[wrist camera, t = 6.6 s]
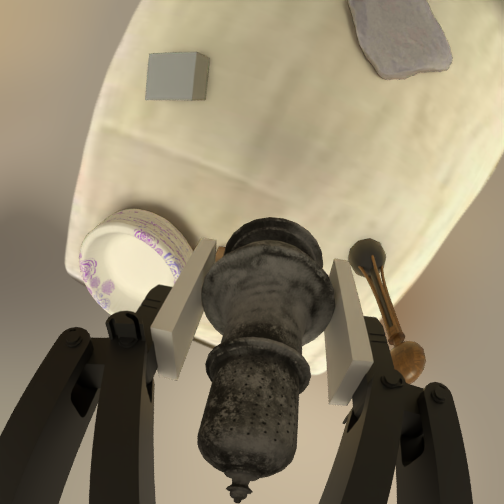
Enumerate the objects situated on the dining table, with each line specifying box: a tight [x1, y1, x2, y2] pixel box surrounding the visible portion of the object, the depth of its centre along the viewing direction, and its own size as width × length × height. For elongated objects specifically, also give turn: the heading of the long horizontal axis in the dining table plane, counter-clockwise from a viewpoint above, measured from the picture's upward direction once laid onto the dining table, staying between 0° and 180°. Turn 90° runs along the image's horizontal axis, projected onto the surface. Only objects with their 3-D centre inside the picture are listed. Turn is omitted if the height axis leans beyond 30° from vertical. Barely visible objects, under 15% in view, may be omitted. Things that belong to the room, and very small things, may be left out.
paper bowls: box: [79, 209, 193, 315], centre depth 37 cm, size 15×15×8 cm
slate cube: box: [145, 52, 210, 101], centre depth 27 cm, size 5×5×5 cm
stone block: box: [348, 0, 452, 80], centre depth 22 cm, size 12×5×10 cm
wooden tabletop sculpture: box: [348, 238, 426, 384], centre depth 28 cm, size 6×5×20 cm
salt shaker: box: [198, 217, 336, 503], centre depth 11 cm, size 6×6×12 cm
